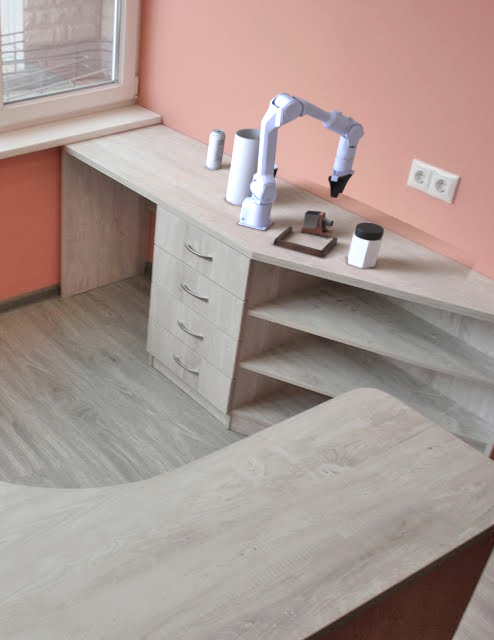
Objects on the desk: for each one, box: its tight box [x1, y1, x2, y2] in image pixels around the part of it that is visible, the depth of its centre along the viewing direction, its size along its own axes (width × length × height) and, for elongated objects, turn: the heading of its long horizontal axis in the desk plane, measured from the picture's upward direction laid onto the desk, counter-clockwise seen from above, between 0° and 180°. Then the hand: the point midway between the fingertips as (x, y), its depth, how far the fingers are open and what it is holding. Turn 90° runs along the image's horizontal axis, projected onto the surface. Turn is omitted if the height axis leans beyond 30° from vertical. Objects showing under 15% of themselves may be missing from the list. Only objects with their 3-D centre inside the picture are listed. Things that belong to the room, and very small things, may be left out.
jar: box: [347, 222, 385, 269], centre depth 250 cm, size 9×8×12 cm
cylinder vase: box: [225, 128, 261, 207], centre depth 289 cm, size 12×12×25 cm
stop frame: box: [273, 225, 338, 259], centre depth 264 cm, size 16×13×2 cm
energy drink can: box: [205, 128, 226, 171], centre depth 321 cm, size 6×6×15 cm
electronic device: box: [300, 210, 334, 239], centre depth 270 cm, size 4×10×8 cm, turn 55°
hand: (336, 194), depth 275 cm, fingers open, 4 cm apart
